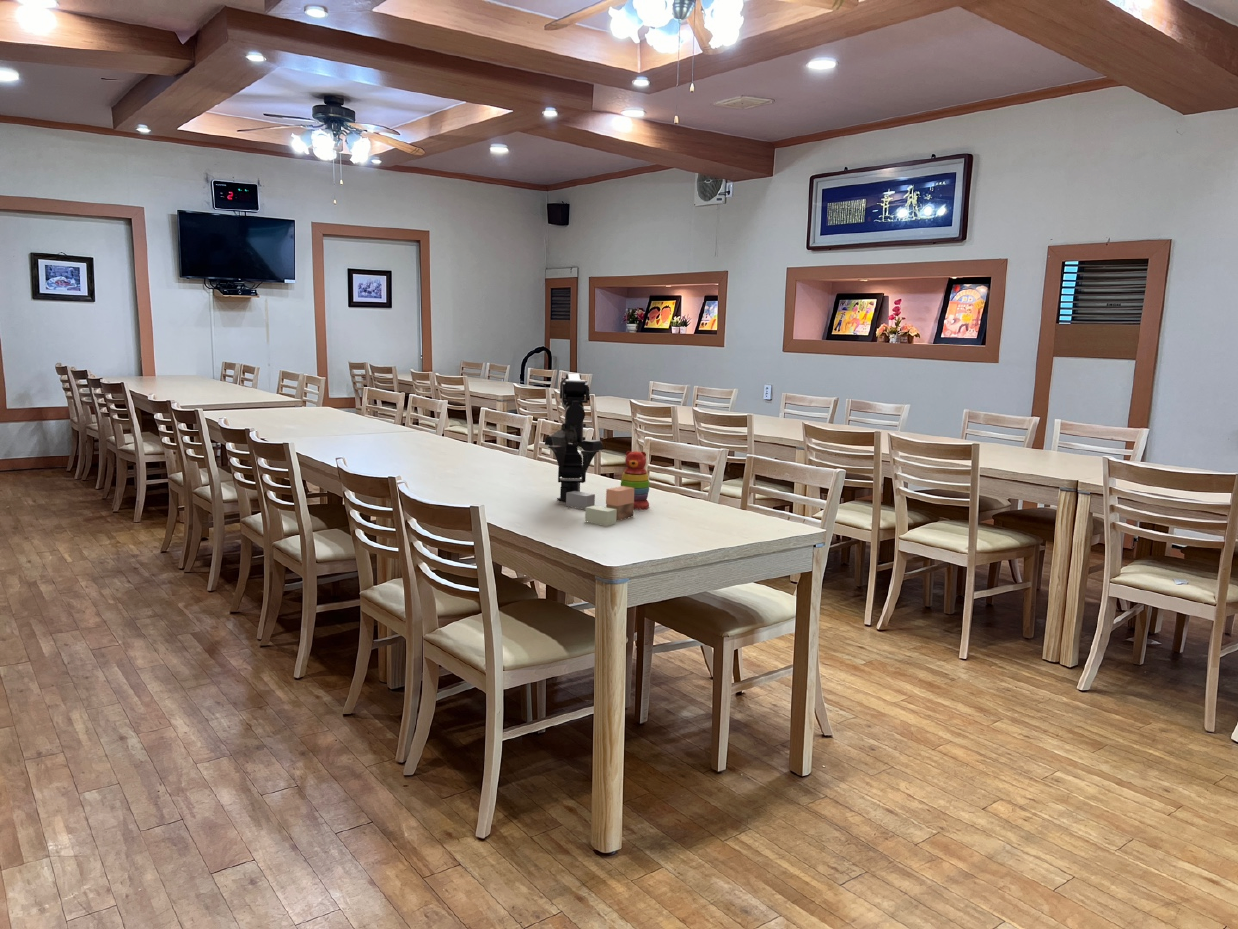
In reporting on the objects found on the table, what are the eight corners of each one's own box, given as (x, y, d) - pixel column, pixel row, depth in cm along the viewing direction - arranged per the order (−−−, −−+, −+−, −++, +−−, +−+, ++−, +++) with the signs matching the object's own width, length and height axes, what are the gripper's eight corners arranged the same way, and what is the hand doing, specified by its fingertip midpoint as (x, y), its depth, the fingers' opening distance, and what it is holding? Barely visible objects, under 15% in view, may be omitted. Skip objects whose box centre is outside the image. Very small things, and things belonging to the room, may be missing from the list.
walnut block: (621, 514, 270) (621, 500, 269) (633, 516, 267) (633, 502, 267) (605, 518, 264) (606, 504, 263) (618, 521, 261) (618, 506, 260)
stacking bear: (613, 506, 281) (615, 451, 278) (622, 501, 290) (624, 448, 288) (645, 510, 278) (648, 454, 275) (653, 504, 287) (656, 450, 284)
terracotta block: (622, 500, 269) (622, 485, 269) (633, 502, 267) (634, 488, 266) (605, 503, 263) (606, 489, 262) (617, 506, 260) (618, 491, 260)
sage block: (585, 522, 258) (585, 507, 257) (594, 520, 261) (594, 505, 261) (607, 526, 253) (607, 511, 252) (616, 524, 257) (616, 509, 256)
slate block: (565, 506, 279) (566, 492, 279) (574, 504, 283) (575, 490, 282) (585, 510, 275) (586, 496, 274) (594, 508, 278) (594, 494, 278)
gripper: (533, 419, 268) (532, 469, 270) (582, 425, 257) (580, 477, 260) (556, 417, 277) (555, 465, 279) (604, 422, 266) (602, 473, 269)
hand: (572, 470), depth 271 cm, fingers open, 9 cm apart
